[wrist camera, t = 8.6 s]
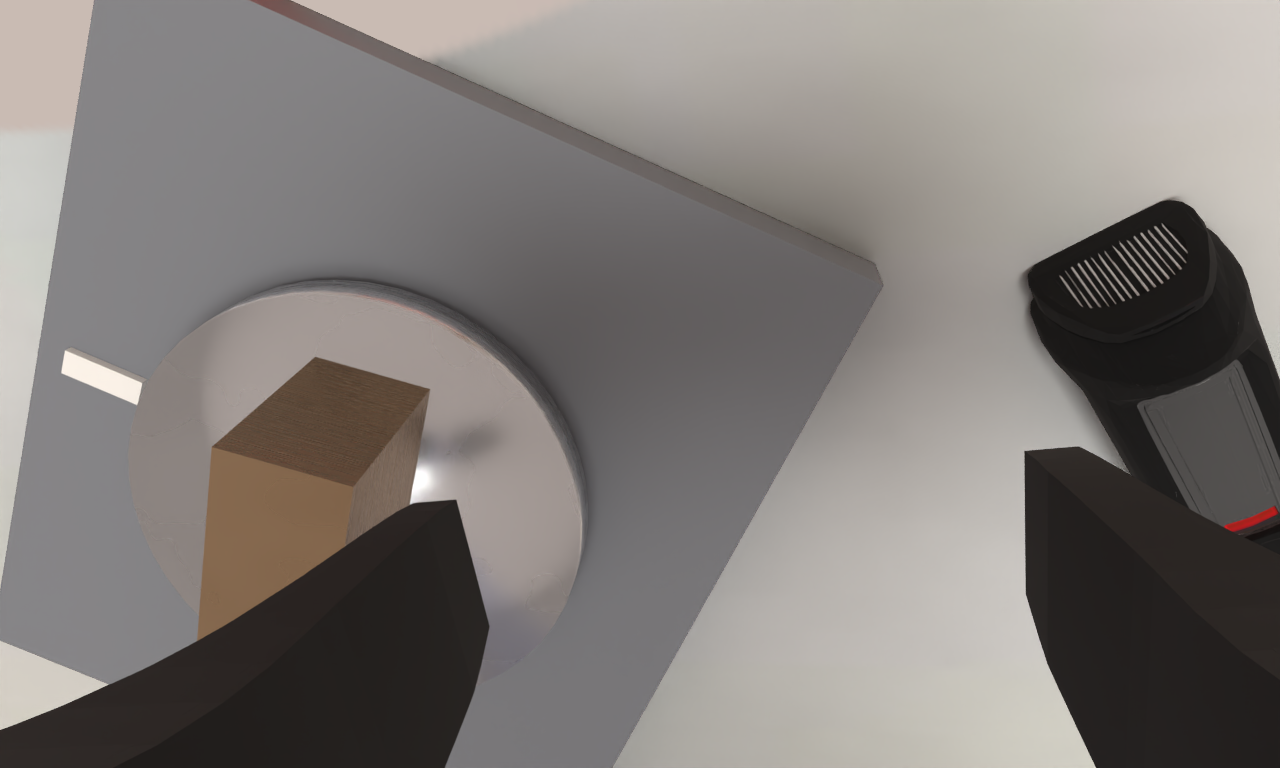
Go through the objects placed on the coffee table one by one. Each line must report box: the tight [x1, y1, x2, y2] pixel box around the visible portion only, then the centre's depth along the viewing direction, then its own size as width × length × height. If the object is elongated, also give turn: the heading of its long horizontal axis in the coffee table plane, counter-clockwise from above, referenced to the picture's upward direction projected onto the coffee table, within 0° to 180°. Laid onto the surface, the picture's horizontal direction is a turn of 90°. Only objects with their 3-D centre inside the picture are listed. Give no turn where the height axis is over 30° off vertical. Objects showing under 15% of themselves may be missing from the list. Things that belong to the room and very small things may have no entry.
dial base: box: [0, 0, 883, 768], centre depth 23 cm, size 18×16×2 cm
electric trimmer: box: [1028, 200, 1280, 555], centre depth 21 cm, size 4×16×3 cm, turn 31°
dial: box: [128, 280, 588, 686], centre depth 19 cm, size 10×10×5 cm
